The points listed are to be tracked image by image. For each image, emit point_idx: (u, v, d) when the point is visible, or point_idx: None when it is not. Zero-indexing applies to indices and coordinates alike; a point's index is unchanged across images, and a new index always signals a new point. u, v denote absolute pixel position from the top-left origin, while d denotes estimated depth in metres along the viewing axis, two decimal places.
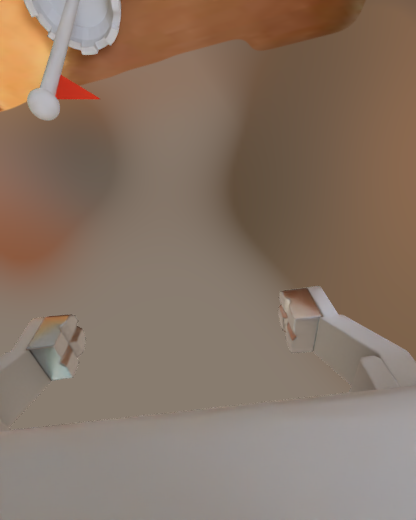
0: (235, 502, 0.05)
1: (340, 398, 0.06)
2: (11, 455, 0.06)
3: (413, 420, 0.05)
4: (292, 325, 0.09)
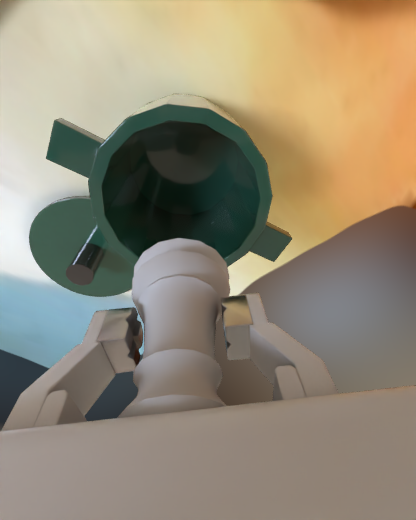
0: (235, 502, 0.05)
1: (340, 398, 0.06)
2: (11, 455, 0.06)
3: (413, 420, 0.05)
4: (225, 333, 0.09)
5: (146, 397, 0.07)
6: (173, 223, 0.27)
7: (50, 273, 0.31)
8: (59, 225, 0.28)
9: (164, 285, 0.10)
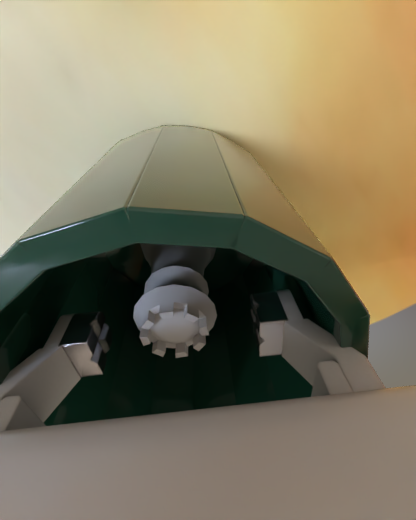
0: (235, 502, 0.05)
1: (340, 398, 0.06)
2: (11, 455, 0.06)
3: (413, 420, 0.05)
4: (258, 329, 0.09)
5: (157, 287, 0.10)
6: None
7: None
8: None
9: None
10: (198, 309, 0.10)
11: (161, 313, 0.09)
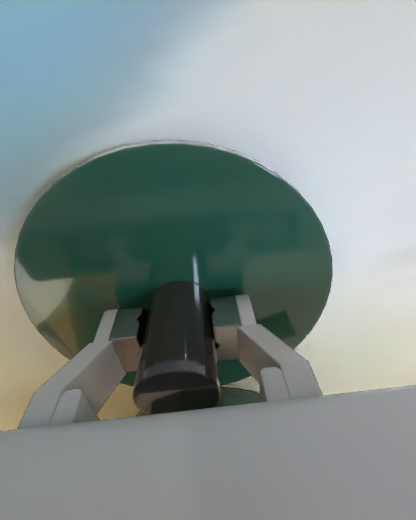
0: (235, 502, 0.05)
1: (340, 398, 0.06)
2: (11, 455, 0.06)
3: (413, 420, 0.05)
4: None
5: None
6: None
7: (199, 165, 0.08)
8: (280, 300, 0.12)
9: None
10: None
11: None
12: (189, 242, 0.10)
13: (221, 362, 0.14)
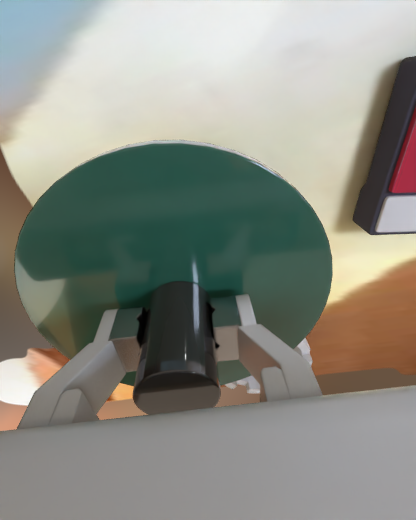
0: (235, 502, 0.05)
1: (340, 398, 0.06)
2: (11, 455, 0.06)
3: (413, 420, 0.05)
4: None
5: None
6: None
7: (199, 164, 0.08)
8: (280, 300, 0.12)
9: None
10: None
11: None
12: (189, 242, 0.10)
13: (221, 362, 0.14)
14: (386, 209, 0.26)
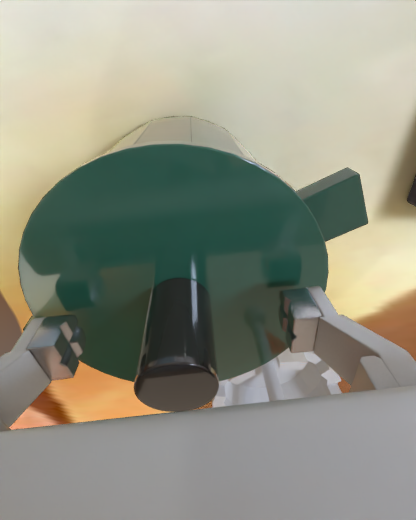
0: (235, 502, 0.05)
1: (340, 398, 0.06)
2: (11, 455, 0.06)
3: (413, 420, 0.05)
4: (292, 325, 0.09)
5: None
6: None
7: (198, 164, 0.09)
8: (277, 297, 0.12)
9: None
10: None
11: None
12: (188, 239, 0.10)
13: (220, 358, 0.14)
14: None
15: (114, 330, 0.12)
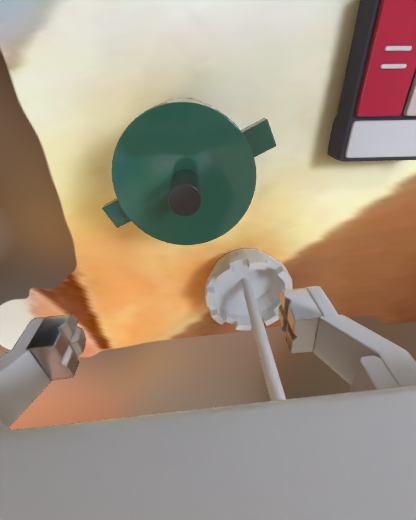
0: (235, 502, 0.05)
1: (340, 398, 0.06)
2: (11, 455, 0.06)
3: (413, 420, 0.05)
4: (292, 325, 0.09)
5: None
6: None
7: (193, 110, 0.21)
8: (232, 182, 0.25)
9: None
10: None
11: None
12: (189, 147, 0.23)
13: (206, 223, 0.27)
14: (354, 134, 0.30)
15: (152, 201, 0.25)
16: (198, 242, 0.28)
